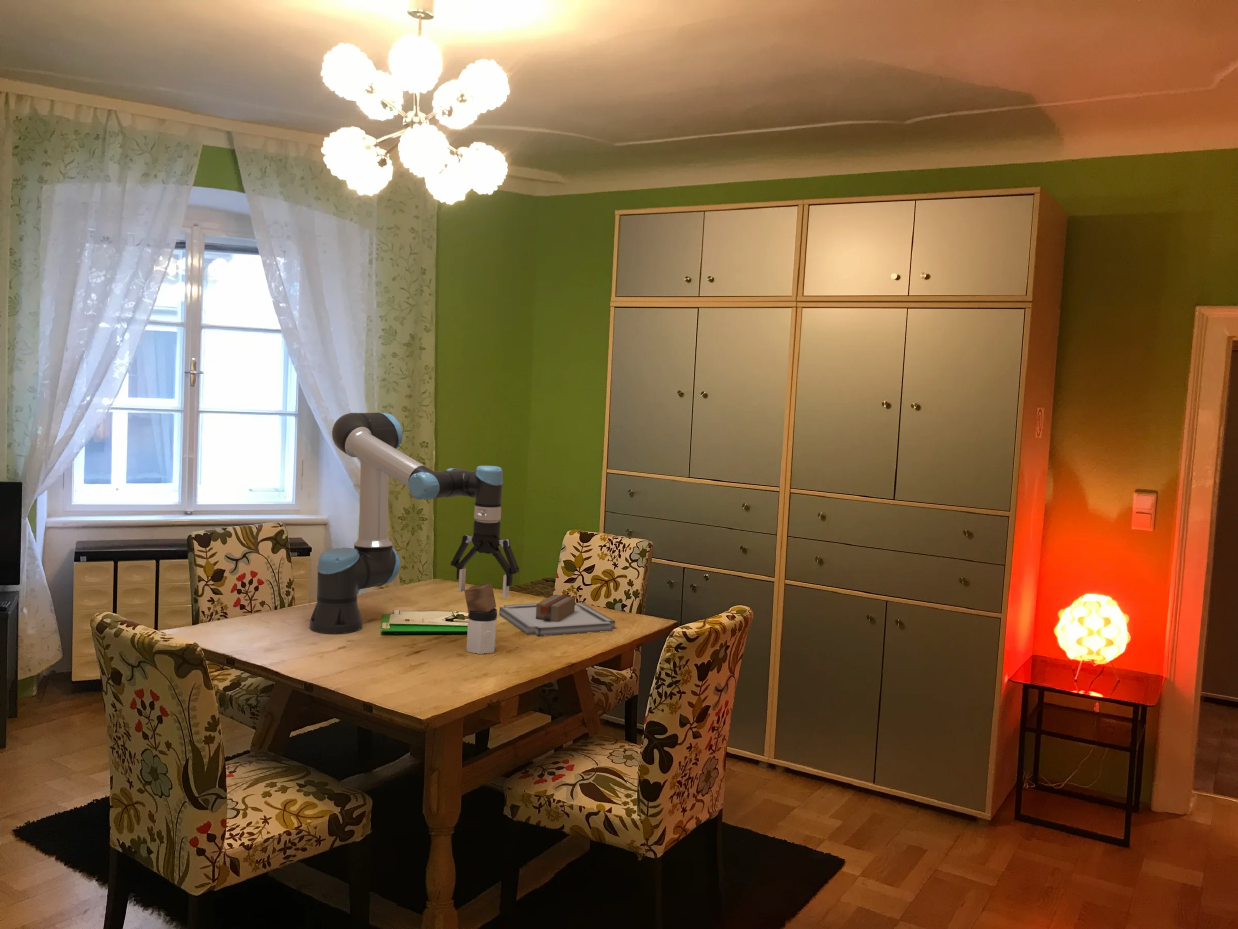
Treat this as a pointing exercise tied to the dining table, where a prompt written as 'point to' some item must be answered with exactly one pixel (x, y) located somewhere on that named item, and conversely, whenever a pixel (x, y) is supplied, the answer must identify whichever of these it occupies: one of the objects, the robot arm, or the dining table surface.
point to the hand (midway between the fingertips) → (483, 594)
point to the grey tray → (556, 617)
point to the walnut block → (480, 598)
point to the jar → (481, 631)
